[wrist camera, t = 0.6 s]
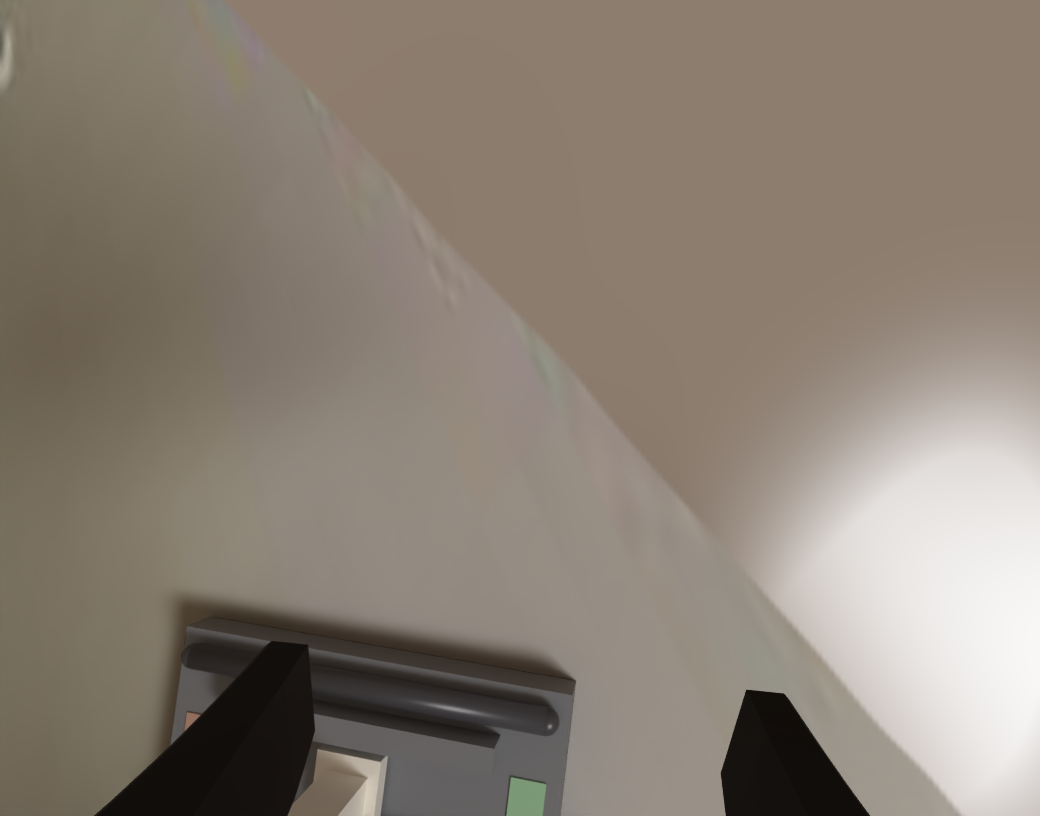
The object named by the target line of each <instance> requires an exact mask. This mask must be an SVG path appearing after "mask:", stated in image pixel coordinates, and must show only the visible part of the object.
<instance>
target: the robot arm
mask: <svg viewBox="0 0 1040 816" xmlns="http://www.w3.org/2000/svg"><path fill="white" fill-rule="evenodd" d="M314 733H315V721H314V709H313V697H312V685H311V672H310V660H309V648H308V644H298V643H288V642H279V641H271V642H270V643H268V644H267V645H266V646H265V647H264V648H263V649H262V650H261V651H260V652H259V653H258V654H257V656H256V657H255V658H254V659H253V660H252V661H251V662H250V663H249V664H248V665H247V666H246V668H245V669H244V670H243V671H242V672H241V673H240V674H239V675H238V676H237V677H236V678H235V680H234V681H233V682H232V683H231V684H230V685H229V686H228V687H227V688H226V689H225V690H224V691H223V692H222V693H221V694H220V696H219V697H218V698H217V699H216V700H215V701H214V702H213V703H212V704H211V705H210V706H209V707H208V708H207V709H206V710H205V711H204V712H203V713H202V714H201V715H200V716H199V717H198V718H197V719H196V720H195V721H194V722H193V723H192V724H191V725H190V726H189V727H188V728H187V729H186V730H185V731H184V732H183V733H182V734H181V735H180V736H179V737H178V738H177V739H176V740H175V741H174V742H173V743H172V744H171V745H170V746H169V747H168V748H167V749H166V750H165V751H164V752H163V753H162V754H161V755H160V756H159V757H158V758H157V759H156V760H155V761H154V762H153V763H152V764H151V765H149V766H148V767H147V768H146V769H145V770H144V771H143V772H142V773H141V774H140V775H139V776H138V777H136V778H135V779H134V780H133V781H132V782H131V783H130V784H129V785H128V786H127V787H126V788H125V789H123V790H122V791H121V792H120V793H119V794H118V795H117V796H116V797H115V798H114V799H113V800H112V801H110V802H109V803H108V804H107V805H106V806H105V807H104V808H102V809H101V810H100V811H99V812H98V813H97V814H96V815H94V816H288V814H289V811H290V809H291V806H292V804H293V801H294V799H295V796H296V793H297V790H298V787H299V784H300V780H301V777H302V774H303V771H304V767H305V764H306V761H307V757H308V754H309V750H310V747H311V743H312V740H313V736H314ZM721 779H722V788H723V796H724V804H725V813H726V816H870V815H869V813H868V812H867V811H866V809H865V808H864V807H863V805H862V804H861V803H860V801H859V800H858V799H857V797H856V796H855V795H854V793H853V792H852V790H851V789H850V788H849V786H848V785H847V783H846V782H845V781H844V779H843V778H842V776H841V775H840V773H839V772H838V771H837V769H836V768H835V766H834V765H833V763H832V762H831V761H830V759H829V758H828V756H827V755H826V753H825V752H824V750H823V749H822V748H821V746H820V745H819V743H818V742H817V740H816V739H815V737H814V736H813V734H812V733H811V731H810V730H809V728H808V727H807V726H806V724H805V723H804V721H803V720H802V718H801V717H800V715H799V714H798V712H797V711H796V709H795V708H794V706H793V705H792V703H791V702H790V700H789V699H788V698H787V697H786V695H785V694H783V693H774V692H764V691H754V690H746V692H745V696H744V699H743V702H742V705H741V709H740V712H739V715H738V719H737V722H736V725H735V728H734V732H733V735H732V738H731V742H730V745H729V748H728V751H727V755H726V758H725V761H724V764H723V768H722V771H721Z"/></svg>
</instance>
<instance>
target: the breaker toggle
mask: <svg viewBox="0 0 1040 816" xmlns="http://www.w3.org/2000/svg"><path fill="white" fill-rule="evenodd" d="M387 760H388V756H383V755H378V754H373V753H368V752H363V751H358V750H354V749H349V748H344V747H339V746H334V745H329V744H323V745H322V746H320V747H319V748H318V750H317V758H316V765H315V773H314V780H313V783H312V784H311V785H310V786H309V787H308V788H307V790H306V791H305V792H304V793H303V794H302V795H301V796H300V797H299V798H298V799H297V800H296V801H295V802H294V803H293V804H292V806H291V809H290V811H289V814H288V816H380V815H381V807H382V800H383V792H384V784H385V776H386V768H387Z"/></svg>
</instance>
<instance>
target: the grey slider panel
mask: <svg viewBox="0 0 1040 816" xmlns="http://www.w3.org/2000/svg"><path fill="white" fill-rule="evenodd" d="M271 641H279V642H288V643H298V644H308V648H309V660H310V672H311V685H312V697H313V709H314V721H315V733H314V736H313V740H312V743H311V747H310V750H309V754H308V757H307V761H306V764H305V767H304V771H303V774H302V777H301V780H300V784H299V787H298V790H297V793H296V796H295V799H294V801H293V803H294V802H295V801H296V800H297V799H298V798H299V797H300V796H301V795H302V794H303V793H304V792H305V791H306V790H307V788H308V787H309V786H310V785H311V784H312V783H313V780H314V773H315V765H316V758H317V750H318V748H319V747H320V746H322V745H323V744H329V745H334V746H339V747H344V748H349V749H354V750H358V751H363V752H368V753H373V754H378V755H383V756H388V760H387V768H386V776H385V784H384V792H383V800H382V807H381V815H380V816H560V814H561V805H562V797H563V788H564V780H565V771H566V762H567V754H568V745H569V737H570V728H571V719H572V711H573V702H574V694H575V685H576V681H574V680H568V679H562V678H557V677H551V676H545V675H540V674H534V673H528V672H523V671H517V670H511V669H506V668H500V667H494V666H488V665H483V664H477V663H471V662H466V661H460V660H454V659H449V658H443V657H437V656H431V655H426V654H420V653H414V652H409V651H403V650H397V649H392V648H386V647H380V646H375V645H369V644H363V643H357V642H352V641H346V640H340V639H335V638H329V637H323V636H318V635H312V634H306V633H301V632H295V631H289V630H283V629H278V628H272V627H266V626H261V625H255V624H249V623H244V622H238V621H232V620H227V619H221V618H215V617H209V618H207V619H204V620H201V621H199V622H196V623H194V624H191V625H189V626H187V629H186V636H185V643H184V650H183V651H182V654H181V662H182V665H181V672H180V679H179V686H178V693H177V700H176V707H175V715H174V722H173V729H172V736H171V743H170V745H171V744H172V743H173V742H174V741H175V740H176V739H177V738H178V737H179V736H180V735H181V734H182V733H183V732H184V731H185V730H186V729H187V728H188V727H189V726H190V725H191V724H192V723H193V722H194V721H195V720H196V719H197V718H198V717H199V716H200V715H201V714H202V713H203V712H204V711H205V710H206V709H207V708H208V707H209V706H210V705H211V704H212V703H213V702H214V701H215V700H216V699H217V698H218V697H219V696H220V694H221V693H222V692H223V691H224V690H225V689H226V688H227V687H228V686H229V685H230V684H231V683H232V682H233V681H234V680H235V678H236V677H237V676H238V675H239V674H240V673H241V672H242V671H243V670H244V669H245V668H246V666H247V665H248V664H249V663H250V662H251V661H252V660H253V659H254V658H255V657H256V656H257V654H258V653H259V652H260V651H261V650H262V649H263V648H264V647H265V646H266V645H267V644H268V643H270V642H271Z"/></svg>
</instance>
